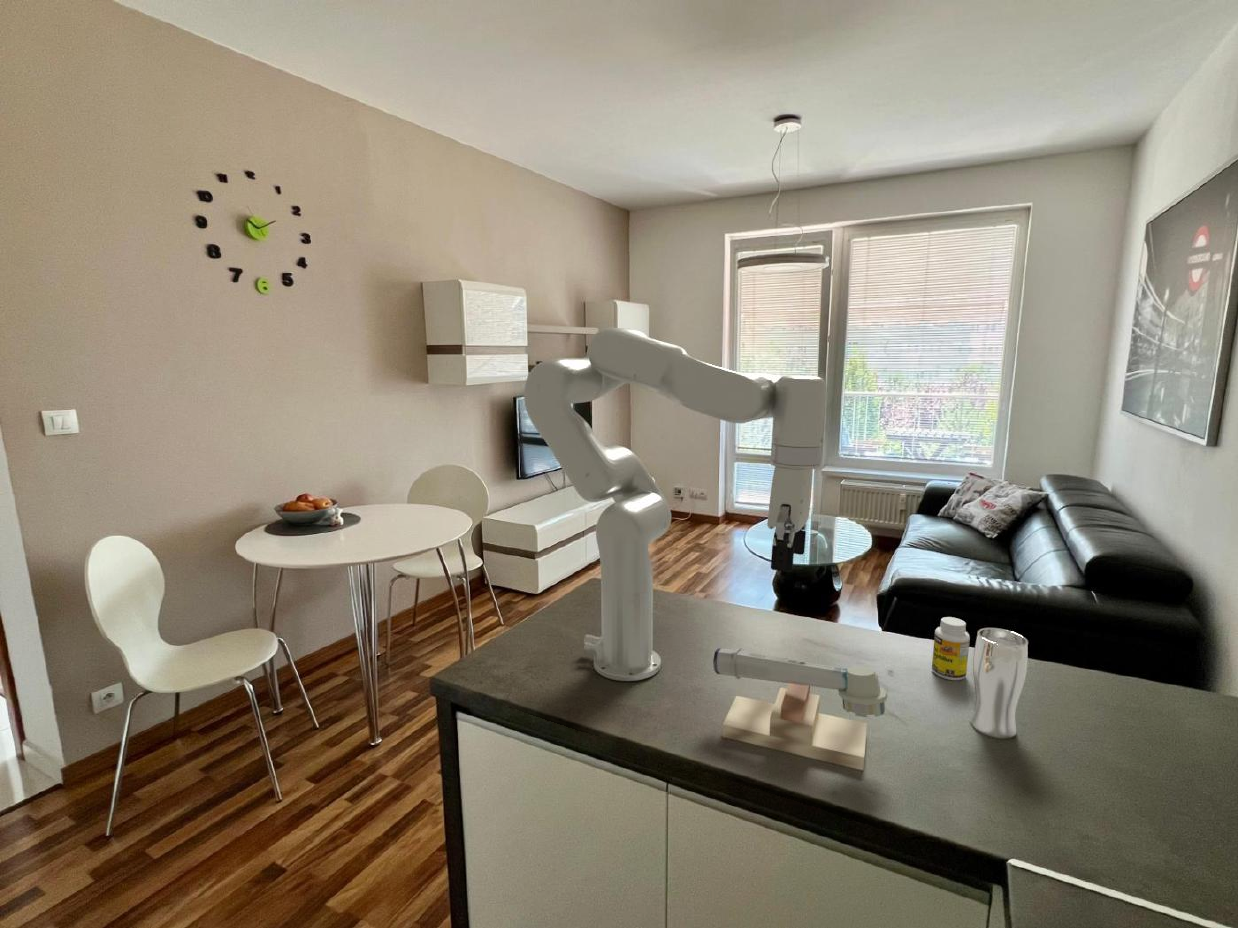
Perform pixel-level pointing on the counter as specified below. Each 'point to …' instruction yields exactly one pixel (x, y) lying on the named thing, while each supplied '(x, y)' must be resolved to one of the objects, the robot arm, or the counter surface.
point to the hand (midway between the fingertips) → (788, 561)
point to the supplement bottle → (951, 649)
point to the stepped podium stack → (797, 727)
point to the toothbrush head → (808, 677)
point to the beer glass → (998, 680)
